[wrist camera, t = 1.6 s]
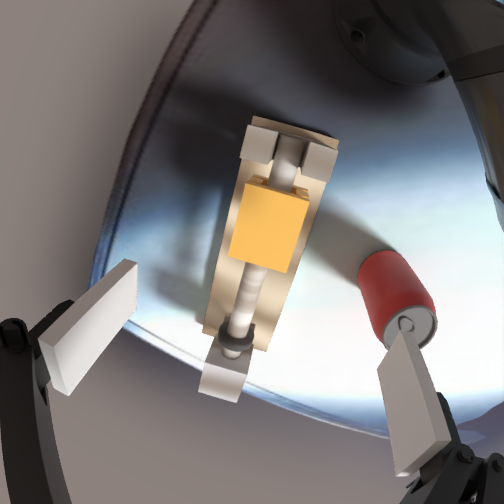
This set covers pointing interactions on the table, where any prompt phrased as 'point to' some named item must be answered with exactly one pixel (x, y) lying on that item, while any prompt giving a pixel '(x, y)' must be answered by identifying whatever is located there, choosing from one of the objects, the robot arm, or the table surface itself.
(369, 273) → the beer can
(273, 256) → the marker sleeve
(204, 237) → the table surface
